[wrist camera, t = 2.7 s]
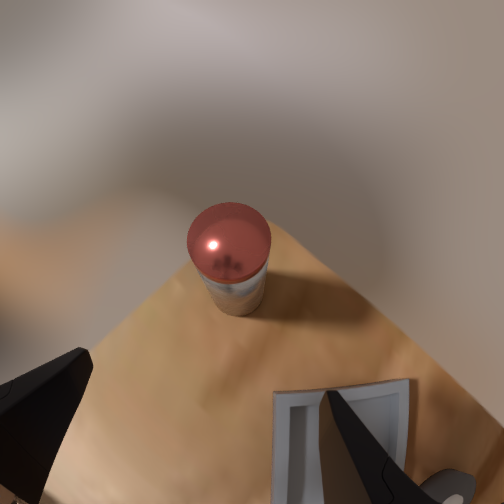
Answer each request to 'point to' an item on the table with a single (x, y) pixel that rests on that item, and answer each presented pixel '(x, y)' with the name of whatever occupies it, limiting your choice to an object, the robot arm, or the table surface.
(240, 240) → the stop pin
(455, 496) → the trolley wheel
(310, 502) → the tray
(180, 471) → the table surface
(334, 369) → the table surface
